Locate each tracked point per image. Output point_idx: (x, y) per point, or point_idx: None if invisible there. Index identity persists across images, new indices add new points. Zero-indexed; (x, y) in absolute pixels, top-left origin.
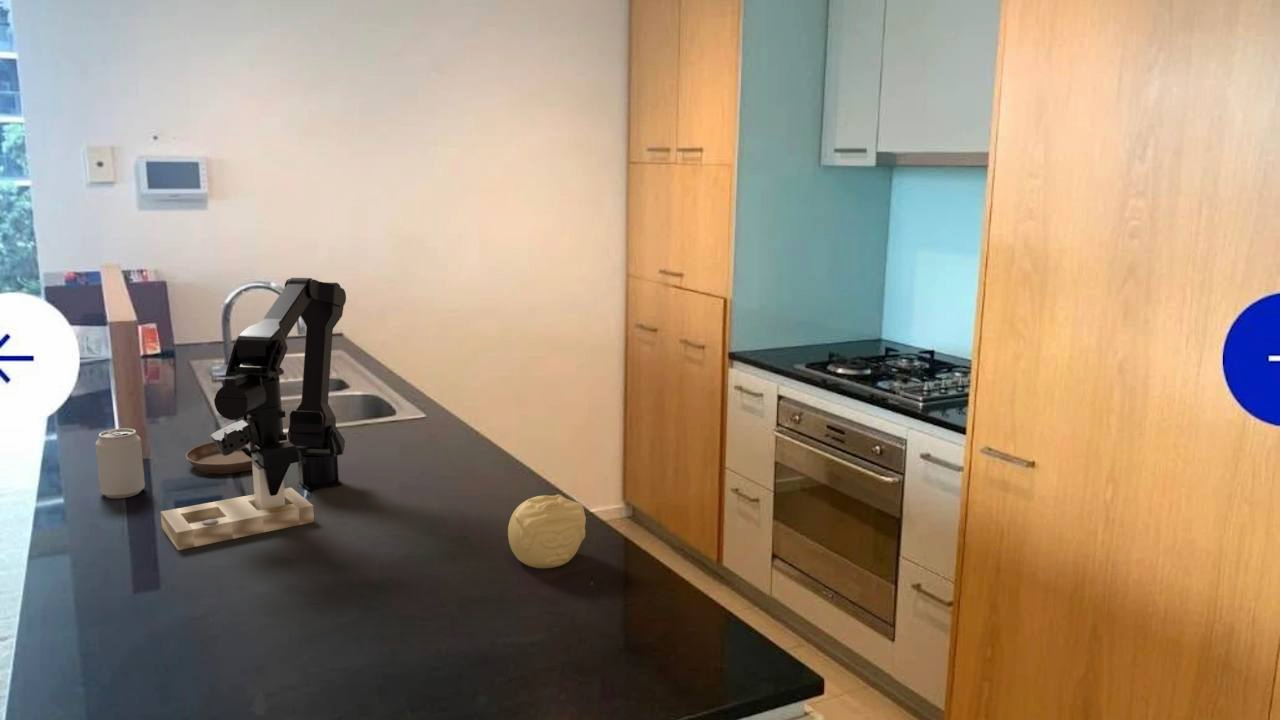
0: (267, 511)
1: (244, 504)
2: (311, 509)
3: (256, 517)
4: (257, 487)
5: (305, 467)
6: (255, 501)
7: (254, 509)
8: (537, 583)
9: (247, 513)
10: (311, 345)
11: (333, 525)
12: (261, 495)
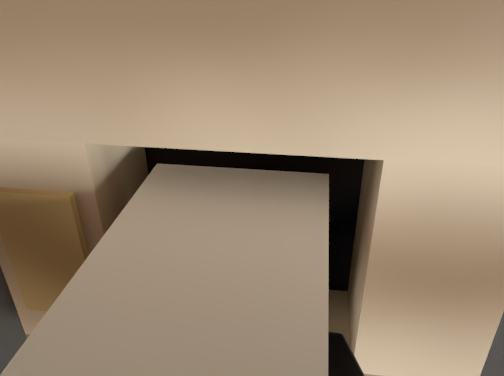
0: (27, 189)
1: (304, 108)
2: None
3: None
4: (167, 300)
5: None
6: (306, 201)
7: (118, 132)
8: None
9: (41, 54)
10: None
11: (19, 348)
12: (95, 255)
